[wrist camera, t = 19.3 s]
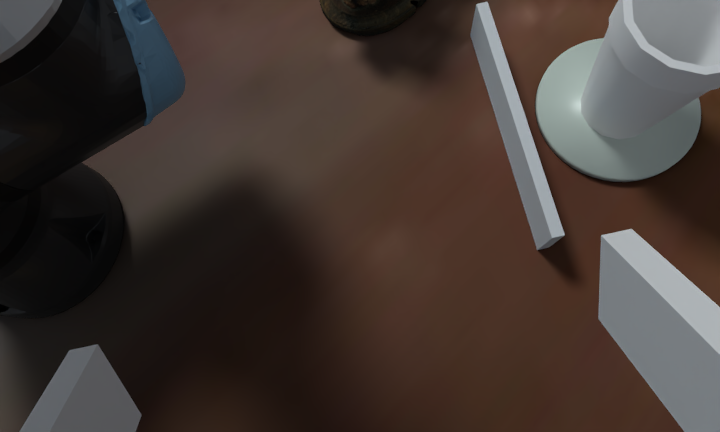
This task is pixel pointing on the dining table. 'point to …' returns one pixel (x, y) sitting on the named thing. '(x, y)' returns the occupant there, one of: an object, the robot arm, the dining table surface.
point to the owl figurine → (368, 14)
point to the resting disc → (590, 148)
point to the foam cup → (652, 64)
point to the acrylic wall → (515, 130)
